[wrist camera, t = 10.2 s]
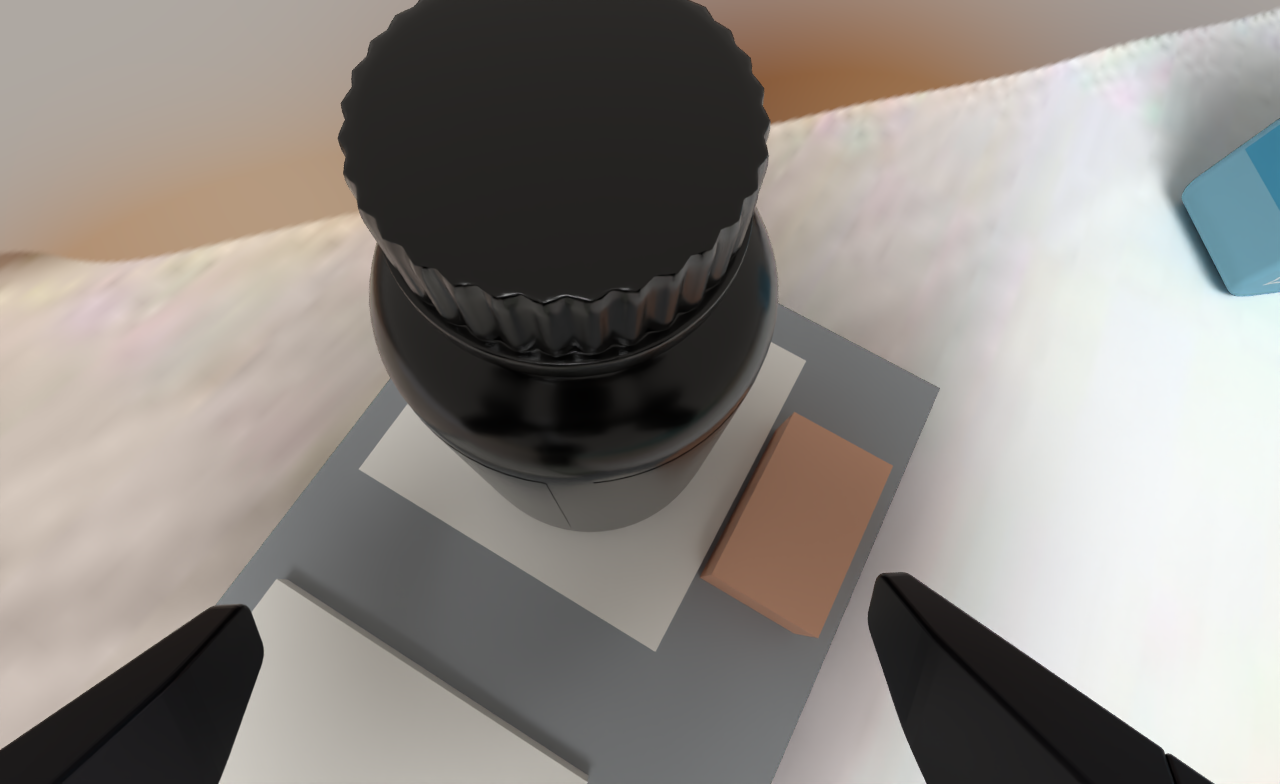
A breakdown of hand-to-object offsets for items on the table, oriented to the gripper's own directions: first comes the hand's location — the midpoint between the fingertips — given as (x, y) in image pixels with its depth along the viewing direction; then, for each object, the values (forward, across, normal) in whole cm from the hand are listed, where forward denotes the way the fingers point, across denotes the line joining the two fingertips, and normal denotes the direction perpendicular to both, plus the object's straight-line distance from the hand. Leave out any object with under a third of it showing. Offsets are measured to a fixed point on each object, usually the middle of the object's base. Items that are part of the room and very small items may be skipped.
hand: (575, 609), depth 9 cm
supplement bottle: (+9, 0, +2) cm, 10 cm away
